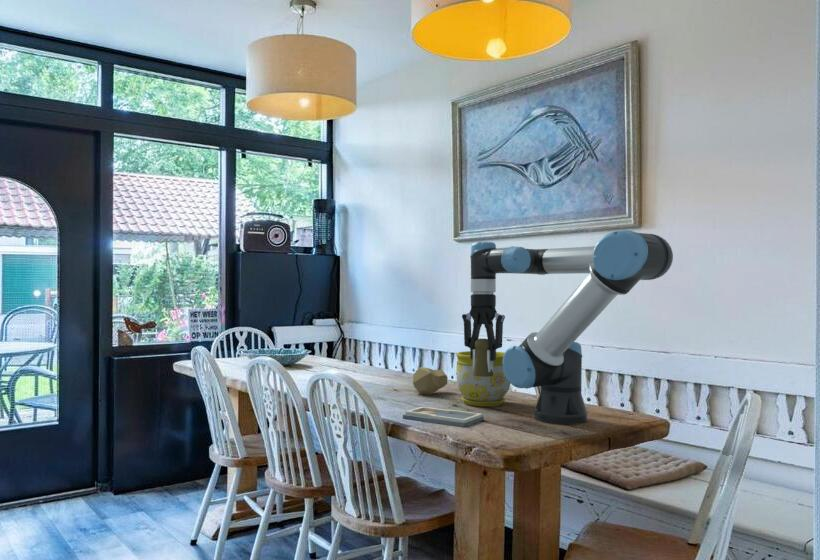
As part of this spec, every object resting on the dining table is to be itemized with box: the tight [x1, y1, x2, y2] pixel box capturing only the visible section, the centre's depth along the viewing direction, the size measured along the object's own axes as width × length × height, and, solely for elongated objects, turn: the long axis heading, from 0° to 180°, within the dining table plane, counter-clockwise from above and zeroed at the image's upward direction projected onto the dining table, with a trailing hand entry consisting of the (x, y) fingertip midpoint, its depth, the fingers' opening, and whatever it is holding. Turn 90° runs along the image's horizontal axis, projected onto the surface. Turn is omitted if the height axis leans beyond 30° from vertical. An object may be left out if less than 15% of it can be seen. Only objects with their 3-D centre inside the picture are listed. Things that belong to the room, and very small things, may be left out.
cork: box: [473, 338, 493, 377], centre depth 193 cm, size 6×6×11 cm
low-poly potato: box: [412, 366, 448, 396], centre depth 229 cm, size 15×11×12 cm
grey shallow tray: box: [402, 406, 484, 428], centre depth 185 cm, size 20×12×2 cm, turn 57°
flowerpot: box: [456, 350, 511, 408], centre depth 212 cm, size 18×18×16 cm
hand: (483, 371), depth 193 cm, fingers closed on cork, 4 cm apart
